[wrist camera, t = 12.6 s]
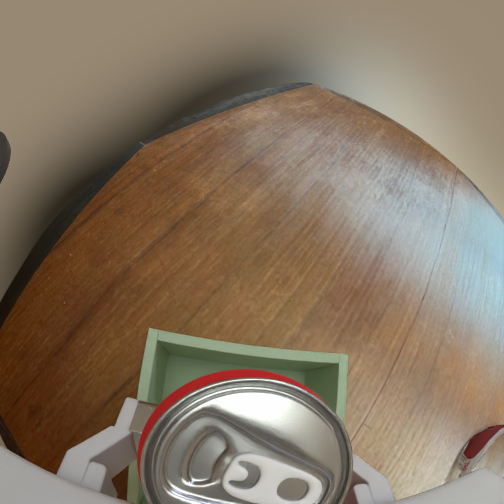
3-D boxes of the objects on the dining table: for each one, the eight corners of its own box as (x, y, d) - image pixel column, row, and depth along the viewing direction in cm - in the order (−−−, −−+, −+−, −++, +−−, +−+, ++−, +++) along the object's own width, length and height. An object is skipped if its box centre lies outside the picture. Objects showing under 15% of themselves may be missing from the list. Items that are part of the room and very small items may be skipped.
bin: (145, 484, 20) (126, 514, 13) (163, 345, 28) (148, 327, 20) (296, 497, 22) (328, 527, 14) (310, 365, 29) (348, 354, 22)
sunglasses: (507, 410, 28) (528, 411, 23) (488, 489, 23) (506, 494, 18) (448, 441, 26) (473, 447, 21) (424, 529, 21) (443, 540, 16)
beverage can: (198, 368, 17) (192, 324, 6) (275, 402, 16) (391, 407, 6) (162, 438, 14) (96, 509, 4) (241, 473, 14) (305, 576, 3)
